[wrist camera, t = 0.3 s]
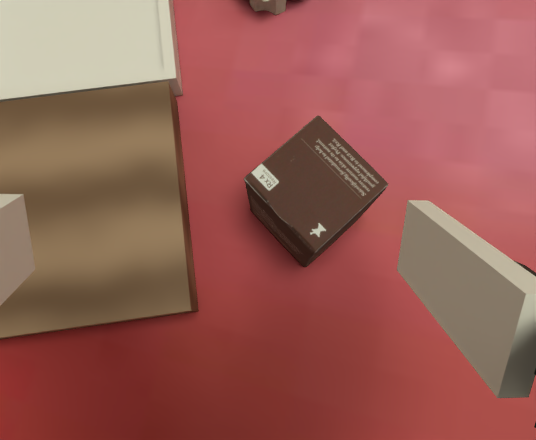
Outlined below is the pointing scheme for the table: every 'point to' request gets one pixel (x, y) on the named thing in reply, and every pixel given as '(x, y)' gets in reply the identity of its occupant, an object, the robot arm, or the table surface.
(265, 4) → the grey lobed frame
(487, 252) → the robot arm
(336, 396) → the table surface
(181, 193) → the wooden board
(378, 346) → the table surface
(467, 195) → the table surface
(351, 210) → the box
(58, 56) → the bin
